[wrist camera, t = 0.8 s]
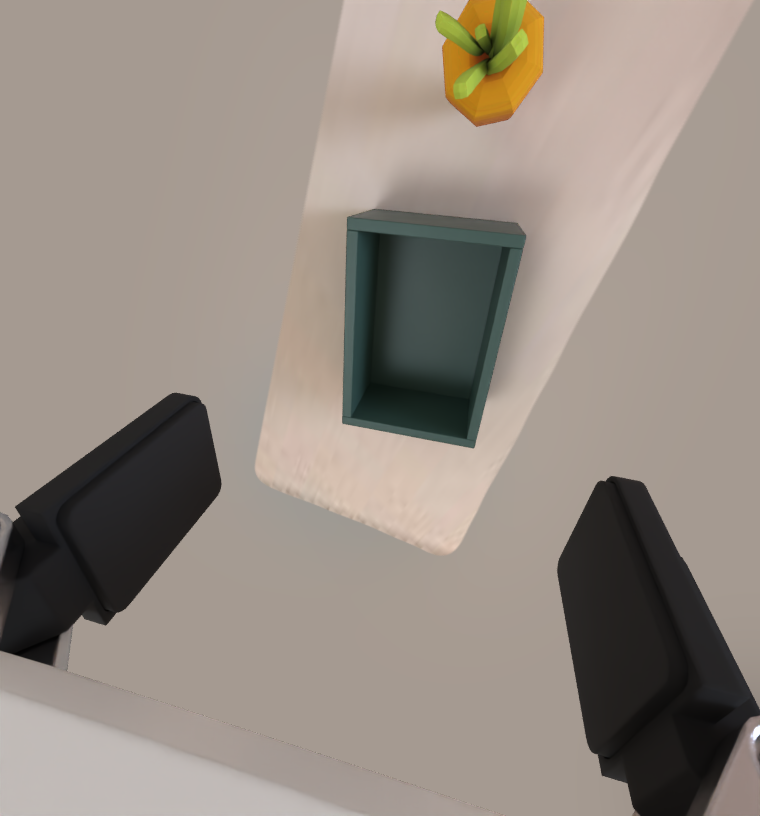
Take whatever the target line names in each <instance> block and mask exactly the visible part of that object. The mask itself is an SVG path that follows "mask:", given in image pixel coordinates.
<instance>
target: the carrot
mask: <svg viewBox="0 0 760 816" xmlns="http://www.w3.org/2000/svg"><path fill="white" fill-rule="evenodd" d="M435 23H436V28H437V30H438V32H439V33H441V34H442V35H443V36H445V37H446V38H447V39H446V41H445V43H444V45H443V46H442V51H443V66H444V80H445V94H446V98H447V100H448V101H449V102H450V103H451V104H452V105H453V106H454V107H455V108H456V109H457V110H458V111H460V112H461V113H462V114H463V115H464V116H465V117H466V118H467V119H468V120H469V121H471V122H472V123H473V124H474V125H475V126H476V127H478V126H482V125H487V124H491V123H496V122H500V121H504V120H508V119H509V118H511V116H512V115H513V113H514V112H515V111H516V109H517V108H518V106H519V105H520V104H521V102H522V101H523V99H524V98H525V97H526V95H527V94H528V92H529V91H530V90H531V88H532V87H533V86H534V84H535V83H536V81H537V80H538V79H539V77H540V76H541V74H542V73H543V39H544V17H543V16H542V15H541V14H540V13H539V12H538V11H537V10H536V9H535V8H534V7H533V6H532V5H531V4H530V3H529V2H528V1H527V0H469V1H468V3H467V5H466V6H465V8H464V10H463V12H462V13H461V15H460V17H459V18H458V20H455V19H454V18H452V17H451V16H450V15H448V14H446V13H444V12H442V11H441V10H440V11H439V13H438V14H437V17H436V21H435Z"/></svg>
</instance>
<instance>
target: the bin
mask: <svg viewBox="0 0 760 816" xmlns="http://www.w3.org/2000/svg"><path fill="white" fill-rule="evenodd" d="M525 240H526V235H525V233H524V232H523V231H522V229H521V228H520V226H519V225H518V223H511V222H501V221H491V220H481V219H471V218H461V217H451V216H441V215H431V214H420V213H410V212H400V211H390V210H380V209H373V210H369V211H366V212H363V213H359V214H356V215H353V216H349V217H347V245H346V287H345V329H344V372H343V414H342V415H343V416H342V423H343V424H348V425H353V426H358V427H363V428H369V429H374V430H379V431H385V432H390V433H395V434H400V435H406V436H411V437H416V438H422V439H427V440H432V441H437V442H443V443H448V444H453V445H459V446H464V447H469V448H474V447H475V443H476V439H477V435H478V431H479V427H480V423H481V419H482V415H483V410H484V406H485V402H486V398H487V394H488V390H489V386H490V382H491V378H492V374H493V370H494V366H495V362H496V358H497V353H498V349H499V345H500V341H501V337H502V333H503V329H504V325H505V321H506V317H507V313H508V309H509V305H510V301H511V296H512V292H513V288H514V284H515V280H516V276H517V272H518V268H519V264H520V260H521V256H522V252H523V248H524V244H525Z"/></svg>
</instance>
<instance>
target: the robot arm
mask: <svg viewBox="0 0 760 816" xmlns="http://www.w3.org/2000/svg"><path fill="white" fill-rule="evenodd" d="M220 489H221V478H220V473H219V468H218V463H217V458H216V453H215V448H214V443H213V439H212V434H211V429H210V424H209V419H208V415H207V410H206V407H205V405H204V404H202V403H201V400H200V399H199V398H198V397H196V396H191V395H185V394H180V393H172V394H170V395H168V396H167V397H165V398H164V399H163V400H161V401H160V402H159V403H157V404H156V405H154V406H153V407H152V408H150V409H149V410H148V411H146V412H145V413H143V414H142V415H141V416H139V417H138V418H136V419H135V420H134V421H132V422H131V423H130V424H128V425H127V426H126V427H124V428H123V429H121V430H120V431H119V432H117V433H116V434H115V435H113V436H112V437H110V438H109V439H108V440H106V441H105V442H103V443H102V444H101V445H99V446H98V447H97V448H95V449H94V450H93V451H91V452H90V453H88V454H87V455H85V456H84V457H83V458H81V459H80V460H79V461H77V462H76V463H75V464H73V465H72V466H70V467H69V468H68V469H67V470H65V471H63V472H62V473H61V474H59V475H58V476H57V477H56V478H54V479H52V480H51V481H50V482H49V483H47V484H46V485H44V486H43V487H41V488H40V489H39V490H37V491H36V492H35V493H34V494H32V495H30V496H29V497H28V498H26V499H25V500H23V501H22V502H21V503H20V504H18V505H17V506H16V507H15V508H16V509H17V511H18V513H19V514H20V517H19V518H18V519H16V520H15V521H14V522H12V521H11V519H10V518H9V517H8V515H6V514H3V513H1V512H0V816H505V815H502V814H499V813H496V812H493V811H490V810H487V809H484V808H481V807H478V806H475V805H472V804H469V803H466V802H463V801H460V800H457V799H454V798H451V797H448V796H445V795H442V794H439V793H436V792H433V791H430V790H427V789H424V788H421V787H418V786H415V785H412V784H409V783H406V782H403V781H400V780H397V779H394V778H391V777H388V776H385V775H382V774H379V773H376V772H373V771H370V770H367V769H364V768H361V767H358V766H355V765H352V764H349V763H346V762H343V761H340V760H337V759H334V758H331V757H328V756H325V755H322V754H319V753H316V752H313V751H310V750H307V749H304V748H301V747H298V746H295V745H292V744H289V743H285V742H283V741H280V740H276V739H274V738H271V737H267V736H265V735H261V734H258V733H255V732H252V731H249V730H246V729H243V728H240V727H237V726H234V725H231V724H228V723H225V722H221V721H219V720H216V719H213V718H210V717H207V716H204V715H200V714H198V713H194V712H191V711H188V710H185V709H182V708H179V707H176V706H173V705H170V704H167V703H164V702H161V701H158V700H155V699H151V698H148V697H145V696H142V695H139V694H136V693H133V692H130V691H127V690H124V689H120V688H117V687H114V686H111V685H108V684H105V683H102V682H98V681H96V680H93V679H90V678H86V677H83V676H80V675H77V674H74V673H71V672H68V671H67V668H68V660H69V652H70V644H71V637H72V629H73V624H74V623H75V622H76V620H78V618H79V617H80V616H81V615H82V616H83V617H84V619H86V620H90V621H93V622H96V623H99V624H103V625H107V624H108V623H109V621H110V620H111V619H112V618H113V617H114V615H115V614H116V613H117V612H121V611H123V610H124V609H126V607H127V606H128V605H129V604H130V603H131V602H132V601H133V599H134V598H135V597H136V595H137V594H138V593H139V592H140V591H141V589H142V588H143V587H144V586H145V584H146V583H147V582H148V581H149V579H150V578H151V577H152V576H153V575H154V573H155V572H156V571H157V570H158V569H159V567H160V566H161V565H162V564H163V562H164V561H165V560H166V559H167V557H168V556H169V555H170V554H171V552H172V551H173V550H174V549H175V547H176V546H177V545H178V544H179V543H180V541H181V540H182V539H183V537H184V536H185V535H186V534H187V533H188V532H189V530H190V529H191V528H192V527H193V525H194V524H195V523H196V522H197V520H198V519H199V518H200V517H201V516H202V514H203V513H204V512H205V510H206V509H207V508H208V507H209V506H210V504H211V503H212V502H213V501H214V499H215V498H216V497H217V496H218V494H219V492H220ZM557 573H558V580H559V585H560V591H561V597H562V603H563V608H564V614H565V620H566V625H567V631H568V637H569V643H570V648H571V654H572V660H573V665H574V671H575V677H576V682H577V688H578V693H579V700H580V705H581V711H582V717H583V722H584V728H585V734H586V739H587V743H588V746H589V748H590V750H591V752H593V753H594V754H598V758H599V763H600V768H601V773H602V776H605V777H609V778H612V779H615V780H618V781H622V782H625V783H628V787H629V792H630V796H631V801H632V805H633V808H634V809H635V812H634V813H633V815H632V816H760V709H759V707H758V705H757V703H756V701H755V699H754V697H753V695H752V693H751V691H750V689H749V687H748V685H747V683H746V681H745V679H744V677H743V675H742V673H741V671H740V669H739V667H738V665H737V663H736V661H735V659H734V658H733V656H732V653H731V651H730V650H729V647H728V646H727V643H726V641H725V640H724V637H723V635H722V633H721V631H720V630H719V628H718V626H717V624H716V622H715V620H714V618H713V616H712V614H711V612H710V610H709V608H708V606H707V604H706V602H705V600H704V598H703V596H702V594H701V592H700V590H699V588H698V586H697V584H696V582H695V580H694V578H693V576H692V574H691V572H690V570H689V568H688V566H687V564H686V563H685V561H684V560H683V558H682V557H680V555H679V553H678V551H677V549H676V547H675V545H674V543H673V541H672V539H671V537H670V535H669V533H668V531H667V529H666V527H665V525H664V523H663V521H662V519H661V517H660V515H659V513H658V510H657V508H656V507H655V505H654V502H653V501H652V499H651V496H650V494H649V493H648V490H647V488H646V486H645V485H644V484H643V483H642V482H640V481H635V480H631V479H626V478H620V477H615V476H611V477H609V478H608V479H607V480H606V482H605V481H599V482H598V483H597V484H596V486H595V488H594V490H593V492H592V494H591V496H590V498H589V500H588V502H587V504H586V506H585V508H584V510H583V512H582V514H581V516H580V518H579V520H578V522H577V524H576V526H575V528H574V530H573V532H572V534H571V536H570V538H569V540H568V542H567V544H566V546H565V548H564V550H563V552H562V554H561V556H560V558H559V561H558V569H557Z"/></svg>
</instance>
